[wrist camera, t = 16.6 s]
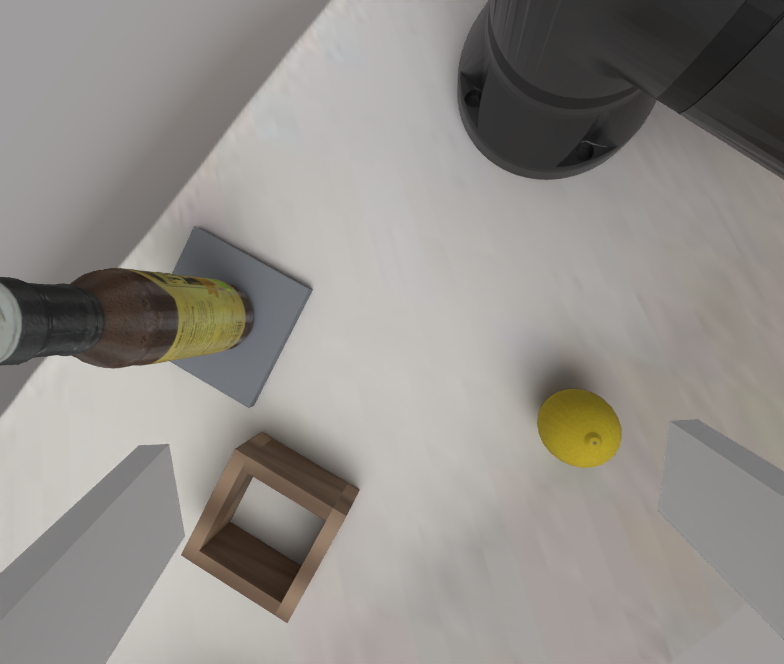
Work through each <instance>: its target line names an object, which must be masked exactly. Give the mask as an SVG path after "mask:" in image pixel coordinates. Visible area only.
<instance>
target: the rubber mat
mask: <svg viewBox="0 0 784 664" xmlns="http://www.w3.org/2000/svg"><path fill="white" fill-rule="evenodd" d="M172 274H177V275H186V276H192V277H200V278H209V279H216V280H220V281H223V282H225V283H228V284H232V285H235V286H236V287H238V288H239V289H240V290H241V291H242V292H244V293H245V294H246V295H247V297H248V298H249V300H250V303H251V305H252V308H253V327H252V329H251V332H250V333H249V335H248V336H247V337H246V339H245V340H244V341H243V342H242V343H240V344H239V345H238V346H237V347H235V348H232V349H228V350H225V351H220V352H218V353H213V354H207V355H202V356H195V357H190V358H184V359H178V360H172V361H170V362H172V363H174V364H175V365H177V366H179V367H180V368H182V369H184V370H185V371H187V372H189V373H190V374H192V375H194V376H196V377H197V378H199V379H201V380H202V381H204V382H206V383H207V384H209V385H211V386H213V387H214V388H216V389H218V390H219V391H221V392H223V393H224V394H226V395H228V396H229V397H231V398H233V399H235V400H236V401H238V402H240V403H241V404H243V405H245V406H246V407H248V408H250V407H252V406H254V404H255V402H256V400H257V398H258V396H259V394H260V393H261V391H262V389H263V387H264V385H265V383H266V381H267V379H268V377H269V375H270V373H271V371H272V369H273V367H274V365H275V363H276V361H277V359H278V357H279V355H280V353H281V351H282V349H283V347H284V345H285V343H286V341H287V339H288V338H289V336H290V334H291V332H292V330H293V328H294V326H295V324H296V322H297V320H298V318H299V316H300V314H301V312H302V310H303V308H304V306H305V304H306V302H307V300H308V298H309V296H310V294H311V292H312V289H310V288H308V287H306V286H305V285H303V284H301V283H299V282H297V281H296V280H294V279H292V278H290V277H288V276H286V275H285V274H283V273H281V272H279V271H277V270H276V269H274V268H272V267H270V266H268V265H266V264H265V263H263V262H261V261H259V260H257V259H256V258H254V257H252V256H250V255H248V254H246V253H245V252H243V251H241V250H239V249H237V248H236V247H234V246H232V245H230V244H228V243H226V242H225V241H223V240H221V239H219V238H217V237H216V236H214V235H212V234H210V233H208V232H206V231H205V230H203V229H201V228H198V227H195V226H194V229H193V231H192V233H191V235H190V237H189V239H188V241H187V243H186V246H185V248H184V250H183V252H182V254H181V256H180V258H179V260H178V263H177V265H176V267H175V269H174V271H173V273H172Z"/></svg>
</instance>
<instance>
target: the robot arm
mask: <svg viewBox="0 0 784 664" xmlns="http://www.w3.org/2000/svg"><path fill="white" fill-rule="evenodd" d="M457 94H458V105H459V111H460V115H461V118H462V122H463V124H464V127H465V129H466V131H467V133H468V135H469V137H470V138H471V140H472V141H473V143H474V144H475V146H476V147H477V148H478V149H479V150H480V151H481V153H482V154H483V155H484V156H486V157H487V158H488V159H489V160H490V161H492V162H493V163H494V164H496V165H497V166H499V167H501V168H502V169H504V170H506V171H509V172H511V173H513V174H516V175H519V176H523V177H527V178H532V179H545V180H548V179H561V178H567V177H571V176H575V175H578V174H581V173H583V172H586V171H588V170H590V169H593V168H595V167H596V166H598V165H600V164H602V163H603V162H605V161H606V160H608V159H609V158H610V157H611V156H613V155H614V154H615V153H616V152H617V151H618V150H620V149H621V148H622V147H623V146H624V145H625V144H626V143H627V142H628V141H629V140H630V139H631V138H632V137H633V136H634V135H635V133H636V132H637V131H638V130H639V129H640V127H641V126H642V125H643V123H644V122H645V120H646V119H647V117H648V115H649V114H650V112H651V110H652V108H653V106H654V104H655V102H656V100H658V101H660V102H661V103H663V104H665V105H666V106H668V107H670V108H671V109H673V110H674V111H676V112H677V113H678V114H680V115H682V116H683V117H685V118H686V119H688V120H690V121H691V122H693V123H694V124H696V125H698V126H699V127H701V128H702V129H704V130H706V131H707V132H709V133H710V134H712V135H713V136H715V137H717V138H718V139H720V140H721V141H723V142H725V143H726V144H728V145H729V146H731V147H733V148H734V149H736V150H737V151H739V152H741V153H742V154H744V155H745V156H747V157H749V158H750V159H752V160H753V161H755V162H757V163H758V164H760V165H761V166H763V167H764V168H766V169H768V170H769V171H771V172H772V173H774V174H776V175H777V176H779V177H780V178H782V179H784V0H488V2H487V3H486V5H485V6H484V8H483V10H482V11H481V13H480V14H479V16H478V17H477V19H476V21H475V22H474V24H473V26H472V27H471V29H470V31H469V34H468V36H467V38H466V41H465V44H464V47H463V50H462V53H461V57H460V62H459V69H458V90H457ZM658 512H659V513H660V514H661V515H662V516H663V517H664V518H665V519H666V520H667V521H668V522H669V523H670V524H671V525H672V526H673V527H674V528H675V529H676V530H677V532H678V533H679V534H680V535H681V536H682V537H683V538H684V539H685V540H686V541H687V542H688V543H689V544H690V545H691V546H692V547H693V548H694V549H695V550H696V551H697V552H698V553H699V554H700V555H701V556H702V557H703V558H704V559H705V560H706V561H707V562H708V563H709V564H710V565H711V566H712V567H713V568H714V569H715V570H716V571H717V572H718V573H719V574H720V575H721V576H722V577H723V578H724V579H725V580H726V581H727V582H728V584H729V585H730V586H731V587H732V588H733V589H734V590H735V591H736V592H737V593H738V594H739V595H740V596H741V597H742V598H743V599H744V600H745V601H746V602H747V603H748V604H749V605H750V606H751V607H752V608H753V609H754V610H755V611H756V612H757V613H758V614H759V615H760V616H761V617H762V618H763V619H764V620H765V621H766V622H767V623H768V624H769V625H770V626H771V627H772V628H773V629H774V630H775V631H776V632H777V633H778V634H779V636H780V637H781V638H782V639H783V640H784V471H782V470H780V469H779V468H777V467H776V466H774V465H772V464H771V463H769V462H767V461H766V460H764V459H762V458H761V457H759V456H757V455H756V454H754V453H752V452H751V451H749V450H747V449H746V448H744V447H743V446H741V445H739V444H738V443H736V442H734V441H733V440H731V439H729V438H728V437H726V436H724V435H723V434H721V433H719V432H718V431H716V430H714V429H713V428H711V427H709V426H708V425H706V424H705V423H703V422H701V421H700V420H677V421H669V429H668V437H667V444H666V452H665V460H664V467H663V475H662V483H661V491H660V498H659V506H658ZM184 536H185V533H184V528H183V522H182V516H181V510H180V505H179V499H178V493H177V487H176V482H175V476H174V470H173V464H172V459H171V453H170V447H169V444H162V445H140V446H138V447H137V448H136V449H135V450H134V451H133V452H131V453H130V454H129V455H128V456H127V457H126V458H125V459H124V460H123V461H122V462H121V463H119V464H118V465H117V466H116V467H115V468H114V469H113V470H112V471H111V472H110V473H109V474H108V475H106V476H105V477H104V478H103V479H102V480H101V481H100V482H99V483H98V484H97V485H96V486H95V487H93V488H92V489H91V490H90V491H89V492H88V493H87V494H86V495H85V496H84V497H83V498H82V499H80V500H79V501H78V502H77V503H76V504H75V505H74V506H73V507H72V508H71V509H70V510H69V511H67V512H66V513H65V514H64V515H63V516H62V517H61V518H60V519H59V520H58V521H57V522H56V523H54V524H53V525H52V526H51V527H50V528H49V529H48V530H47V531H46V532H45V533H44V534H43V535H41V536H40V537H39V538H38V539H37V540H36V541H35V542H34V543H33V544H32V545H31V546H30V547H28V548H27V549H26V550H25V551H24V552H23V553H22V554H21V555H20V556H19V557H18V558H17V559H15V560H14V561H13V562H12V563H11V564H10V565H9V566H8V567H7V568H6V569H5V570H4V571H2V572H1V573H0V664H106V662H107V661H108V659H109V657H110V656H111V654H112V652H113V651H114V649H115V648H116V646H117V644H118V643H119V641H120V640H121V638H122V636H123V635H124V633H125V632H126V630H127V628H128V627H129V625H130V623H131V622H132V620H133V619H134V617H135V615H136V614H137V612H138V611H139V609H140V607H141V606H142V604H143V603H144V601H145V599H146V598H147V596H148V594H149V593H150V591H151V590H152V588H153V586H154V585H155V583H156V582H157V580H158V578H159V577H160V575H161V574H162V572H163V570H164V569H165V567H166V565H167V564H168V562H169V561H170V559H171V557H172V556H173V554H174V553H175V551H176V549H177V548H178V546H179V545H180V543H181V541H182V540H183V538H184Z"/></svg>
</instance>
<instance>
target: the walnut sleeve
mask: <svg viewBox="0 0 784 664" xmlns="http://www.w3.org/2000/svg"><path fill="white" fill-rule="evenodd" d="M253 477H255V478H256V479H258V480H260V481H261V482H263V483H265V484H266V485H268V486H270V487H271V488H273V489H275V490H276V491H278V492H280V493H281V494H283V495H285V496H286V497H288V498H289V499H291V500H293V501H294V502H296V503H298V504H299V505H301V506H303V507H304V508H306V509H308V510H309V511H311V512H313V513H314V514H316V515H317V516H319V517H321V518H322V519H324V520H326V522H325V524H324V526H323V528H322V530H321V531H320V533H319V535H318V537H317V539H316V541H315V542H314V544H313V546H312V548H311V550H310V552H309V553H308V555H307V557H306V559H305V561H304V562H303V564H302V566H300V565H298V564H297V563H295V562H293V561H292V560H290V559H288V558H287V557H285V556H284V555H282V554H280V553H279V552H277V551H276V550H274V549H272V548H271V547H269V546H268V545H266V544H264V543H263V542H261V541H260V540H258V539H256V538H255V537H253V536H252V535H250V534H248V533H247V532H245V531H243V530H242V529H240V528H239V527H237V526H235V525H234V524H232V523H231V522H230V520H231V518H232V516H233V514H234V512H235V510H236V509H237V507H238V505H239V503H240V501H241V499H242V497H243V495H244V493H245V491H246V489H247V487H248V485H249V484H250V482H251V480H252V478H253ZM358 492H359V489H357V488H355V487H354V486H352V485H350V484H348V483H347V482H345V481H343V480H342V479H340V478H338V477H337V476H335V475H333V474H332V473H330V472H328V471H327V470H325V469H323V468H322V467H320V466H318V465H316V464H315V463H313V462H311V461H310V460H308V459H306V458H305V457H303V456H301V455H300V454H298V453H296V452H295V451H293V450H291V449H290V448H288V447H286V446H284V445H283V444H281V443H279V442H278V441H276V440H274V439H273V438H271V437H269V436H268V435H266V434H264V433H263V432H261V433H259V434H258V435H256V436H255V437H253V438H252V439H250V440H249V441H247V442H245V443H244V444H242V445H241V446H239V447H238V448H236V449H235V450H234V452H233V454H232V456H231V458H230V460H229V462H228V464H227V466H226V468H225V470H224V472H223V474H222V476H221V478H220V480H219V482H218V484H217V486H216V488H215V489H214V491H213V493H212V495H211V497H210V499H209V501H208V503H207V505H206V507H205V509H204V511H203V513H202V515H201V517H200V519H199V521H198V523H197V525H196V527H195V529H194V531H193V533H192V535H191V537H190V538H189V540H188V542H187V544H186V546H185V548H184V550H183V552H182V554H181V556H183V557H185V558H186V559H188V560H189V561H191V562H192V563H194V564H195V565H197V566H199V567H200V568H202V569H203V570H205V571H206V572H208V573H210V574H211V575H213V576H214V577H216V578H217V579H219V580H221V581H222V582H224V583H225V584H227V585H228V586H230V587H231V588H233V589H235V590H236V591H238V592H239V593H241V594H242V595H244V596H246V597H247V598H249V599H250V600H252V601H253V602H255V603H257V604H258V605H260V606H261V607H263V608H264V609H266V610H267V611H269V612H271V613H272V614H274V615H275V616H277V617H278V618H280V619H282V620H283V621H285V622H286V623H288V621H289V619H290V617H291V616H292V614H293V612H294V610H295V608H296V606H297V605H298V603H299V601H300V599H301V597H302V596H303V594H304V592H305V590H306V588H307V587H308V585H309V583H310V581H311V579H312V577H313V576H314V574H315V572H316V570H317V568H318V567H319V565H320V563H321V561H322V559H323V558H324V556H325V554H326V552H327V550H328V548H329V547H330V545H331V543H332V541H333V539H334V538H335V536H336V534H337V532H338V530H339V529H340V527H341V525H342V523H343V521H344V519H345V518H346V516H347V514H348V512H349V510H350V508H351V506H352V504H353V502H354V500H355V498H356V496H357V494H358Z"/></svg>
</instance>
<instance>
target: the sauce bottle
mask: <svg viewBox="0 0 784 664" xmlns="http://www.w3.org/2000/svg"><path fill="white" fill-rule="evenodd" d="M252 327H253V308H252V305H251V303H250V300H249V298H248V297H247V295H246V294H245V293H244V292H242V291H241V290H240V289H239V288H238V287H236V286H235V285H232V284H228V283H225V282H223V281H220V280H216V279H209V278H200V277H192V276H186V275H177V274H170V273H161V272H149V271H138V270H133V269H122V268H110V269H104V270H98V271H93V272H90V273H87V274H84V275H82V276H81V277H79V278H78V279H76V280H75V281H73V282H72V283H71V284H56V285H50V284H46V285H45V284H33V283H26V282H24V281H21V280H19V279H15V278H10V277H0V365H18V364H21V363H23V362H27V361H28V360H30V359H32V358H35V357H47V356H53V355H60V356H70V355H72V356H73V357H76V358H78V359H80V360H81V361H82V362H85V363H88V364H91V365H94V366H98V367H103V368H122V367H127V366H132V365H139V366H141V365H149V364H155V363H161V362H166V361H172V360H178V359H184V358H190V357H195V356H202V355H207V354H213V353H218V352H220V351H225V350H228V349H232V348H235V347H237V346H238V345H239V344H240V343H242V342H243V341H244V340H245V339H246V337H247V336H248V335H249V333H250V332H251V329H252Z"/></svg>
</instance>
